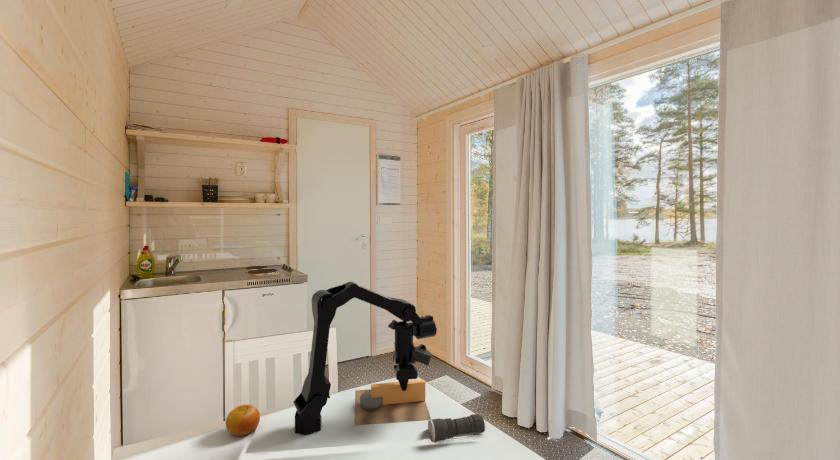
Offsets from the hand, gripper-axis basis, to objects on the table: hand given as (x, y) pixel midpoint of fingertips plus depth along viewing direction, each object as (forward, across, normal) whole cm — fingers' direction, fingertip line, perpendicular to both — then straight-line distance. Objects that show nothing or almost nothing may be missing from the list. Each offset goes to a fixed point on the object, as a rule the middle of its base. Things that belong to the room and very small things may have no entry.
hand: (404, 390), depth 125 cm
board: (+6, +1, +4) cm, 7 cm away
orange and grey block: (+4, +2, +3) cm, 6 cm away
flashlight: (+7, -16, -13) cm, 22 cm away
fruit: (+6, -6, +46) cm, 47 cm away
